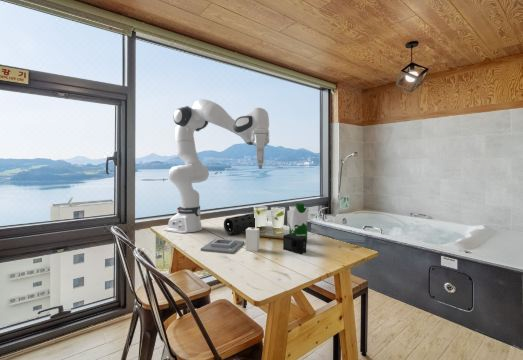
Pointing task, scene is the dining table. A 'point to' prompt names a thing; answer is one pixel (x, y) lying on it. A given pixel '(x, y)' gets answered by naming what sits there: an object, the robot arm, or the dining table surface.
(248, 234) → the charger brick
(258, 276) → the dining table surface
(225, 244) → the socket plate
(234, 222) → the muzzle brake
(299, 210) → the milk carton
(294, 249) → the digital camera
